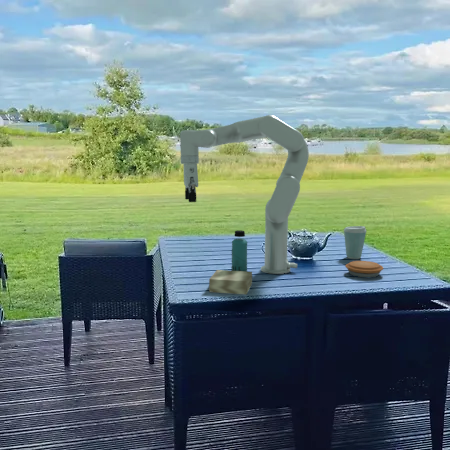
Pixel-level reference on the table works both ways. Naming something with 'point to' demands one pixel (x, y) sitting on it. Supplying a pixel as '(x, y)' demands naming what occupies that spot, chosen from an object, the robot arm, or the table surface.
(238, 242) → the beverage bottle
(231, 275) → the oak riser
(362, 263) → the pie
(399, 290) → the table surface
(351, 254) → the disposable coffee cup
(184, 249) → the table surface
